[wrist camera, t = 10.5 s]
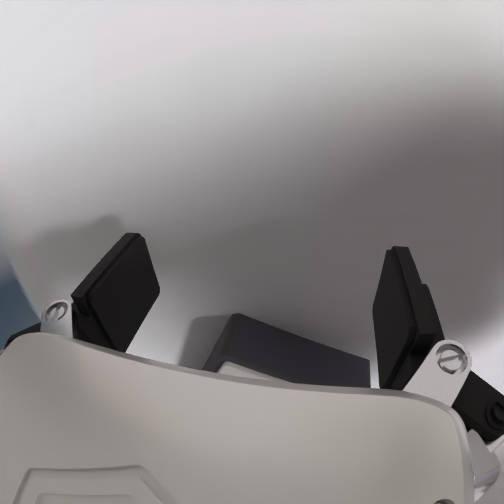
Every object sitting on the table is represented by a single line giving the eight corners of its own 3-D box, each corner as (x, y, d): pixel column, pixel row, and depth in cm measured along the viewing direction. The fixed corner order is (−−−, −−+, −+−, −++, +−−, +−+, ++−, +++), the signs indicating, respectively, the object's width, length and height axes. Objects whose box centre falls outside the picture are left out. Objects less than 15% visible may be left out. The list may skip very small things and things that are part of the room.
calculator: (178, 422, 25) (216, 364, 15) (190, 387, 28) (234, 308, 19) (278, 451, 26) (374, 410, 16) (284, 417, 29) (372, 358, 20)
